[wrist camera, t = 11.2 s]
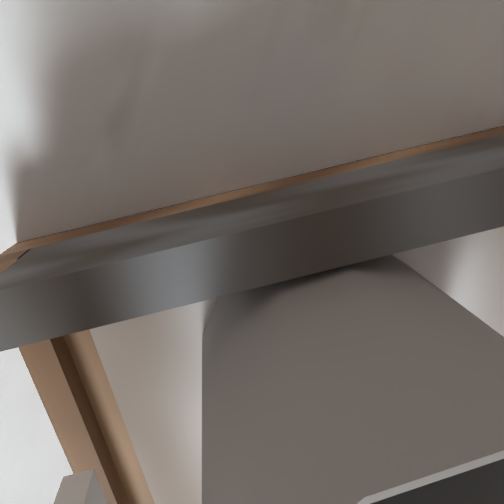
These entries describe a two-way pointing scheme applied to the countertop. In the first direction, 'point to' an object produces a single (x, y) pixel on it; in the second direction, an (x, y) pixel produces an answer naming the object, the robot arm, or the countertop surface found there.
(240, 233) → the wooden tray
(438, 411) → the cup
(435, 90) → the countertop surface
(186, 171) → the countertop surface
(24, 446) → the countertop surface
